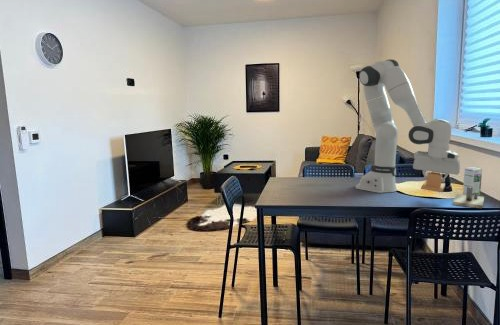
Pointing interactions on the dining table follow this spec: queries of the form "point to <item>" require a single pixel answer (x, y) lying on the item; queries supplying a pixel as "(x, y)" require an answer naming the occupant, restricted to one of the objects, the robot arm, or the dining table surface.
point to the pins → (470, 194)
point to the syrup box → (472, 180)
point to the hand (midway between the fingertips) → (434, 180)
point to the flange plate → (433, 182)
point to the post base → (462, 201)
